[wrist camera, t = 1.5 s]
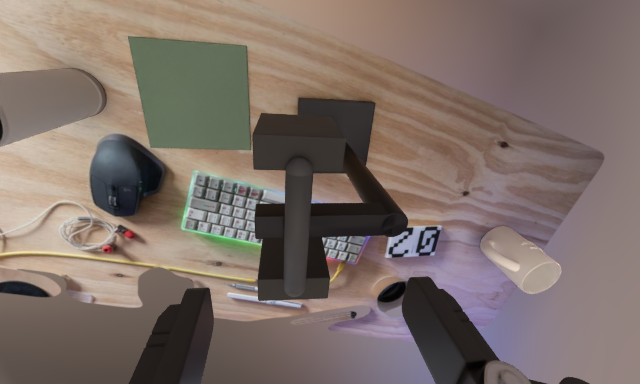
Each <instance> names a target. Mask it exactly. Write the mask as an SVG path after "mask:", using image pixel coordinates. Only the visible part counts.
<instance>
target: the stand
mask: <svg viewBox="0 0 640 384" xmlns="http://www.w3.org/2000/svg"><path fill="white" fill-rule="evenodd" d="M374 109H375V103H374V102H371V101H353V100H334V99H316V98H298V115H306V116H325V117H331V118H332V120H333V121H334V122H335V124H336V125H337V126H338V128H339V129H340V130H341V132H342V133H343V135H344V136H345V137H346V145H345V154H344V162H343V171H342V172H331V171H313V173H346V174H347V176H348V177H349V179H350V181H351V182H352V184H353V186H354V187H355V189H356V191H357V192H358V194H359V196H360V198H361V199H362V201H363V203H311V213H310V228H309V237H342V236H379V235H385V236H387V237H395V236H398V235H400V234H401V233H403V232H404V231H405V229H406V228H407V225H408V219H407V217H406V215H405V214H404V213H403V211H402V210H401V209H400V208H399V207H398V205H397V204H396V203H395V202H394V200H393V199H392V198H391V197H390V195H389V194H388V193H387V192H386V190H385V189H384V188H383V187H382V185H381V184H380V183H379V182H378V181H377V179H376V178H375V177H374V176H373V174H372V173H371V172H370V171H369V169H368V168H367V167H366V161H367V155H368V148H369V142H370V135H371V129H372V122H373V115H374ZM284 232H285V204H256V210H255V238H256V239H268V238H284Z"/></svg>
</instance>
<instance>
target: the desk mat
mask: <svg viewBox="0 0 640 384" xmlns="http://www.w3.org/2000/svg"><path fill="white" fill-rule="evenodd" d="M128 39H129V44H130V49H131V54H132V59H133V64H134V69H135V73H136V78H137V83H138V88H139V93H140V98H141V102H142V107H143V112H144V117H145V122H146V127H147V132H148V136H149V141H150V146H151V148H187V149H231V150H251V141H250V117H249V93H248V70H247V46H239V45H227V44H215V43H202V42H190V41H178V40H165V39H153V38H141V37H128Z"/></svg>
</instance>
